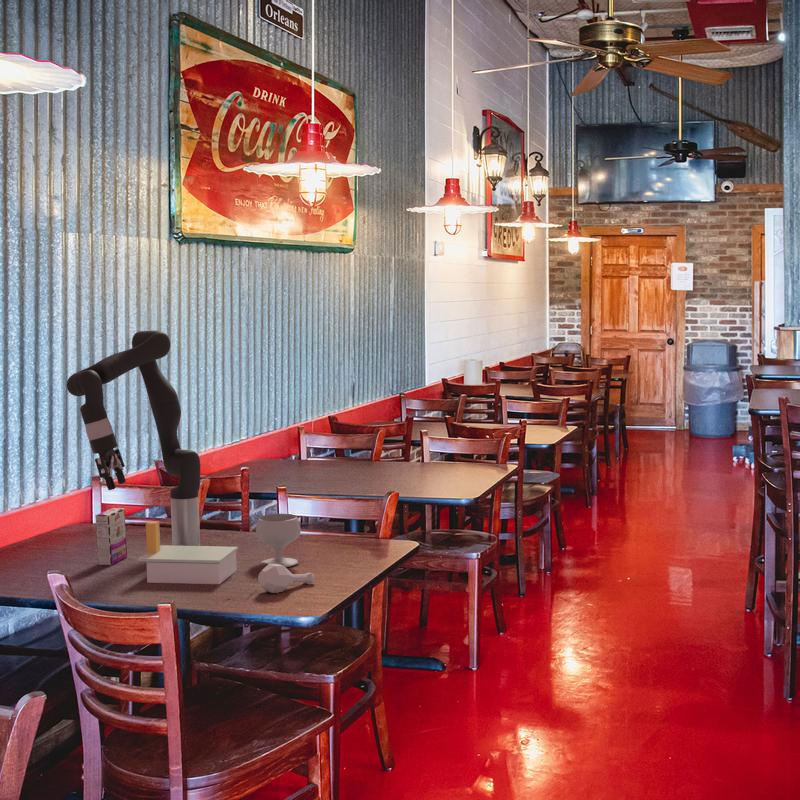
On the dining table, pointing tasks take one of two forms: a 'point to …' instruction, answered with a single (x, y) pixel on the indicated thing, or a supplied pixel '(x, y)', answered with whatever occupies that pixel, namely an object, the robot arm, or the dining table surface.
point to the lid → (180, 550)
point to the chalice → (278, 535)
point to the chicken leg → (281, 578)
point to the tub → (191, 571)
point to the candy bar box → (111, 536)
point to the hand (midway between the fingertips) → (117, 486)
